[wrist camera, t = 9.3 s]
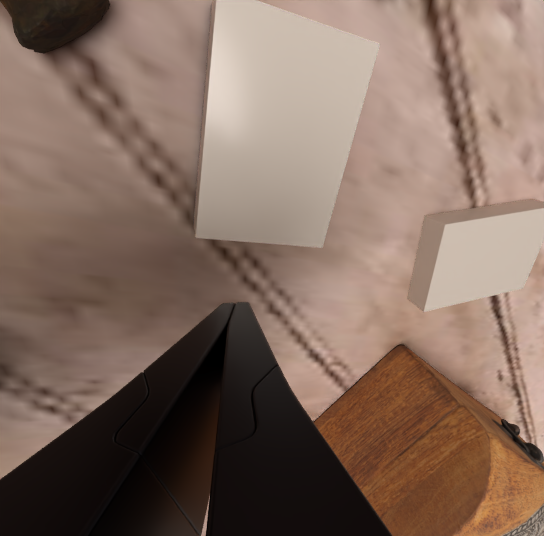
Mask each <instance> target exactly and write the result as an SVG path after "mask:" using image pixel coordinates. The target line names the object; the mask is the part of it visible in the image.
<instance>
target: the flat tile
mask: <svg viewBox="0 0 544 536" xmlns="http://www.w3.org/2000/svg"><path fill="white" fill-rule="evenodd" d="M379 46H380V44H379V43H376V42H374V41H371V40H368V39H365V38H362V37H359V36H357V35H354V34H351V33H348V32H345V31H342V30H340V29H337V28H334V27H331V26H328V25H325V24H323V23H320V22H317V21H314V20H311V19H308V18H306V17H303V16H300V15H297V14H294V13H291V12H289V11H286V10H283V9H280V8H277V7H274V6H272V5H269V4H266V3H263V2H260V1H257V0H213V2H212V5H211V15H210V27H209V40H208V52H207V64H206V76H205V88H204V100H203V112H202V124H201V136H200V148H199V161H198V173H197V185H196V197H195V209H194V221H193V224H194V231H195V238H202V239H215V240H228V241H241V242H253V243H266V244H279V245H292V246H305V247H318V248H322V247H323V244H324V240H325V237H326V233H327V230H328V226H329V223H330V219H331V216H332V212H333V208H334V205H335V201H336V198H337V194H338V191H339V187H340V184H341V180H342V177H343V173H344V170H345V166H346V163H347V159H348V155H349V152H350V148H351V145H352V141H353V138H354V134H355V131H356V127H357V124H358V120H359V117H360V113H361V110H362V106H363V103H364V99H365V95H366V92H367V88H368V85H369V81H370V78H371V74H372V71H373V67H374V64H375V60H376V57H377V53H378V50H379Z"/></svg>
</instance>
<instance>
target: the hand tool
mask: <svg viewBox="0 0 544 536" xmlns="http://www.w3.org/2000/svg"><path fill="white" fill-rule="evenodd" d="M0 1H1V3H2V4H3V5H4V7H5V8H6V9H7V11H8V12H9V14H10V16H11V17H12V22H13V28H14V33H15V35H16V37H17V39H18V41H19V43H20V44H21V45H22V46H23V47H25V48H27V49H32V50H34V51H35V52H39V53H46V52H48V51H50V50H53V49H56V48H59V47H61V46H63V45H64V44H66V43H68V42H70V41H72V40H74V39H76V38H78V37H79V36H81V35H83V34H84V33H86V32H87V31H88V30H90V29H91V28H92V27H93V26H94V25H95V24H96V23H97V22H98V21H100V20H102V17H103V15H104V14H105V12H106V11H107V10H108V9H109V6H110V4H109V1H108V0H0Z"/></svg>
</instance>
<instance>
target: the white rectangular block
mask: <svg viewBox="0 0 544 536" xmlns="http://www.w3.org/2000/svg"><path fill="white" fill-rule="evenodd" d="M543 241H544V202H542V201H538V200H535V199H528V200H521V201H515V202H509V203H502V204H496V205H490V206H483V207H477V208H470V209H464V210H458V211H451V212H445V213H438V214H432V215H426V216H425V217H424V221H423V226H422V231H421V236H420V240H419V245H418V250H417V255H416V259H415V264H414V269H413V274H412V279H411V283H410V288H409V293H408V298H407V299H409V300H410V301H411V302H412V303H413V304H415V305H416V306H417V307H418V308H420V309H421V310H422V311H423V312H426V311H430V310H434V309H438V308H443V307H447V306H451V305H455V304H459V303H464V302H468V301H472V300H476V299H480V298H485V297H489V296H493V295H497V294H501V293H506V292H510V291H514V290H518V289H522V288H524V285H525V283H526V281H527V278H528V276H529V274H530V271H531V269H532V266H533V264H534V262H535V259H536V257H537V255H538V252H539V250H540V248H541V245H542V243H543Z"/></svg>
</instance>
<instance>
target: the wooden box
mask: <svg viewBox="0 0 544 536" xmlns="http://www.w3.org/2000/svg"><path fill="white" fill-rule="evenodd" d="M314 424H315V425H316V427H317V428H318V430H319V431H320V433H321V434H322V435H323V437H324V438H325V440H326V441H327V443H328V444H329V445H330V447H331V448H332V450H333V451H334V453H335V454H336V455H337V457H338V458H339V460H340V461H341V463H342V464H343V465H344V467H345V468H346V470H347V471H348V473H349V474H350V475H351V477H352V478H353V480H354V481H355V483H356V484H357V485H358V487H359V488H360V490H361V491H362V493H363V494H364V495H365V497H366V498H367V500H368V501H369V503H370V504H371V505H372V507H373V508H374V510H375V511H376V513H377V514H378V515H379V517H380V518H381V520H382V521H383V523H384V524H385V525H386V527H387V528H388V530H389V531H390V532H391V534H392V535H393V536H544V457H543V454H542V452H541V450H540V449H539V448H537V447H536V446H535V445H533V444H531V443H526V442H525V441H524V440H523V439H522V438H521V437H520V436H519V433H520V429H519V427H518V426H517V425H514V424H510V423H508V422H507V421H506V420H504V419H501V418H500V417H499V416H498V415H496V414H495V413H494V412H492V411H491V410H489V409H488V408H486V407H485V406H483V405H482V404H481V403H480V402H478V401H477V400H475V399H474V398H473V397H471V396H470V395H468V394H467V393H466V392H464V391H463V390H462V389H460V388H459V387H458V386H456V385H455V384H454V383H452V382H451V381H449V380H448V379H447V378H445V377H444V376H443V375H441V374H440V373H439V372H438V371H436V370H435V369H434V368H432V367H431V366H430V365H429V364H427V363H426V362H425V361H423V360H422V359H421V358H419V357H418V356H417V355H416V354H414V353H413V352H412V351H411V350H409V349H408V348H407V347H406V346H403V345H398V346H397V347H396V348H394V349H393V350H392V351H391V352H390V353H389V354H387V355H386V356H385V357H384V358H383V359H382V360H381V361H380V362H379V363H378V364H377V365H376V366H374V367H373V368H372V369H371V370H370V371H369V372H368V373H367V374H366V375H365V376H364V377H363V378H361V379H360V380H359V381H358V382H357V383H356V384H355V385H354V386H353V387H352V388H351V389H350V390H348V391H347V392H346V393H345V394H344V395H343V396H342V397H341V398H340V399H338V400H337V401H336V402H335V403H334V404H333V405H332V406H331V407H330V408H329V409H328V410H327V411H326V412H325V413H324V414H323V415H321V416H320V417H319V418H318V419H317V420H316V421H315V422H314Z"/></svg>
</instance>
